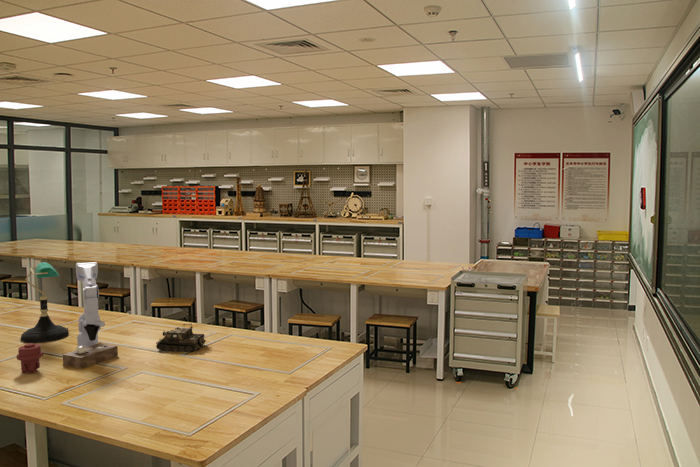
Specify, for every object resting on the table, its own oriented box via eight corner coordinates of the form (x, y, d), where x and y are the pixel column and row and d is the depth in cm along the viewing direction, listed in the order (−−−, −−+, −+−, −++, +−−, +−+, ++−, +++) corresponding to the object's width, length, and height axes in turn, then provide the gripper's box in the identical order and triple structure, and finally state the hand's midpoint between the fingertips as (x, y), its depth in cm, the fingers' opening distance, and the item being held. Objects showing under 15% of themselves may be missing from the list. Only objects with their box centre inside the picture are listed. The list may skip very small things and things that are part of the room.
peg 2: (93, 357, 249) (93, 347, 248) (100, 355, 252) (100, 345, 252) (99, 358, 247) (99, 349, 247) (106, 356, 251) (106, 346, 250)
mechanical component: (32, 366, 236) (49, 369, 233) (11, 374, 227) (28, 376, 223) (31, 340, 235) (47, 342, 232) (10, 346, 226) (27, 348, 222)
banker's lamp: (71, 339, 280) (68, 265, 277) (21, 346, 267) (17, 269, 264) (66, 328, 302) (63, 260, 299) (19, 334, 289) (15, 263, 286)
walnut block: (63, 365, 239) (62, 354, 238) (99, 352, 257) (99, 342, 256) (81, 368, 234) (81, 357, 233) (117, 356, 252) (117, 345, 252)
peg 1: (74, 357, 239) (74, 347, 239) (82, 355, 243) (82, 345, 243) (80, 358, 238) (80, 348, 237) (88, 356, 242) (88, 346, 241)
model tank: (166, 344, 273) (166, 315, 272) (208, 345, 271) (207, 317, 270) (155, 351, 260) (154, 322, 259) (198, 352, 258) (198, 323, 257)
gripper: (73, 312, 244) (74, 340, 245) (95, 314, 238) (96, 344, 239) (86, 309, 250) (87, 336, 251) (108, 311, 244) (109, 340, 245)
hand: (92, 340), depth 245 cm, fingers closed
